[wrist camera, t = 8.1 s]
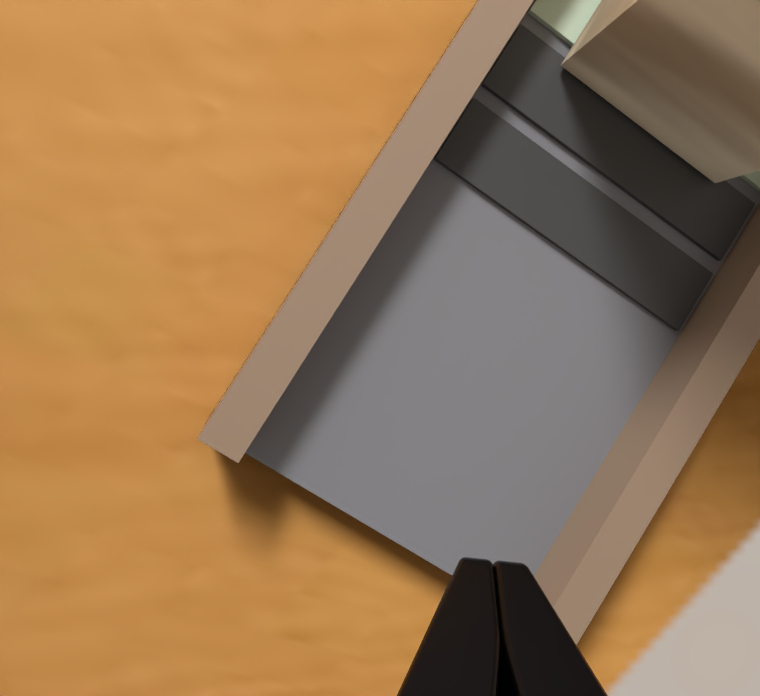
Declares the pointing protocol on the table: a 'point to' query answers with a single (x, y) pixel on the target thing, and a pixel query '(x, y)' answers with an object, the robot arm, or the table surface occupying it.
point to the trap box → (509, 321)
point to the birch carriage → (680, 75)
